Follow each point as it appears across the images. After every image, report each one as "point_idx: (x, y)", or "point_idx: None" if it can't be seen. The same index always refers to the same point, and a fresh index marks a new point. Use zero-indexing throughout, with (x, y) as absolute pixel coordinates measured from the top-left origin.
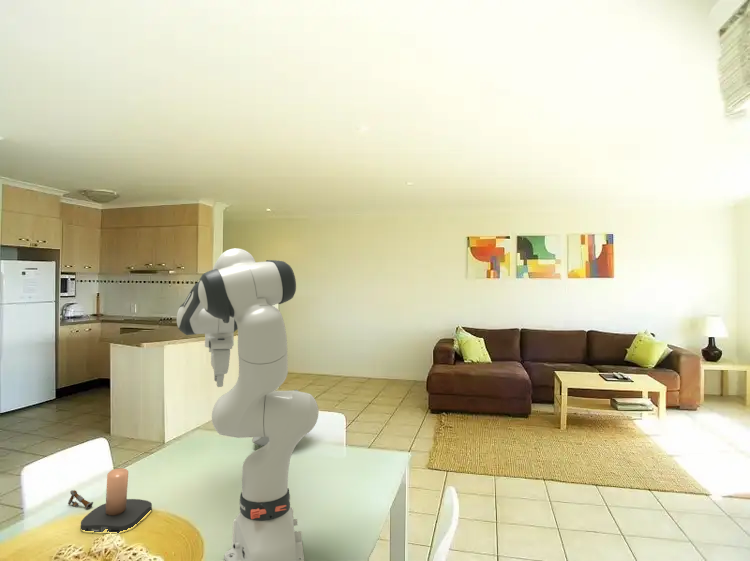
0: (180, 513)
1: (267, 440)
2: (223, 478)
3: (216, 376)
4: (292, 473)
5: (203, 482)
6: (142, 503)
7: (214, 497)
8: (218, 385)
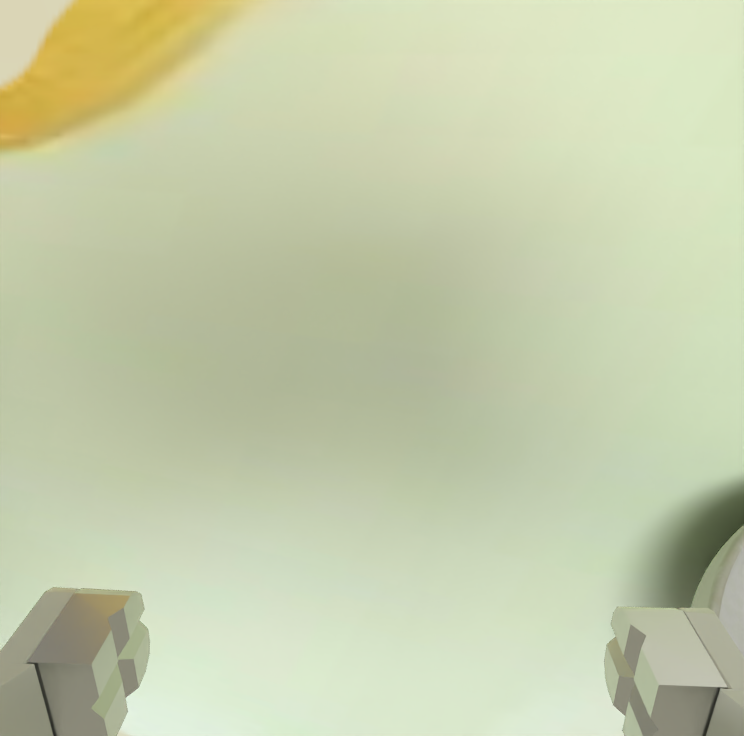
0: (204, 73)
1: (714, 558)
2: (507, 290)
3: (650, 708)
4: (422, 551)
5: (505, 195)
6: None
7: (313, 231)
8: (44, 616)
